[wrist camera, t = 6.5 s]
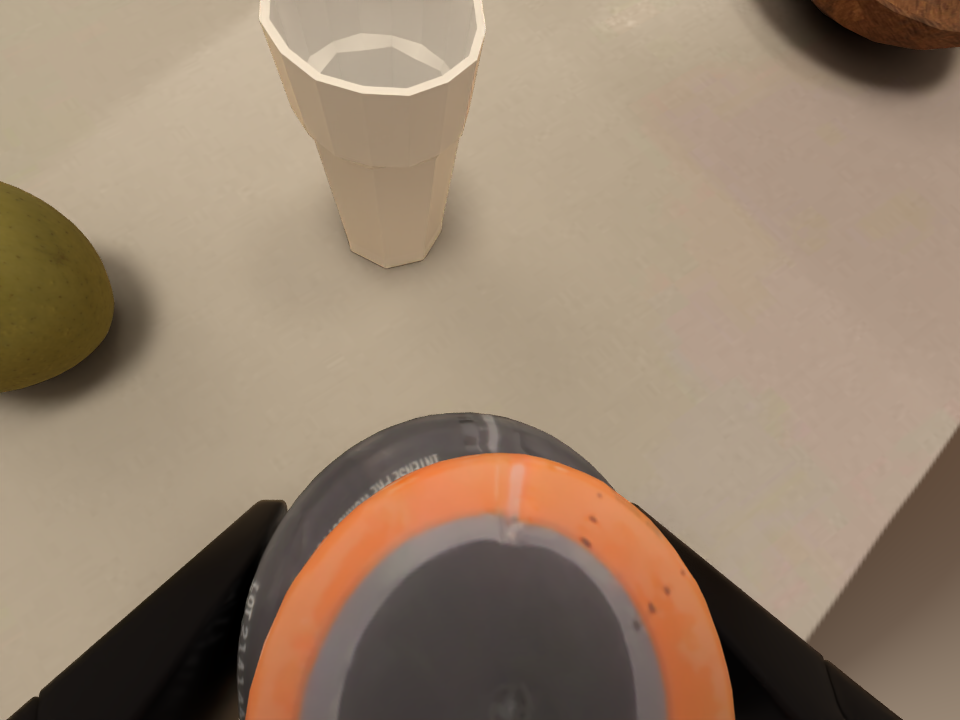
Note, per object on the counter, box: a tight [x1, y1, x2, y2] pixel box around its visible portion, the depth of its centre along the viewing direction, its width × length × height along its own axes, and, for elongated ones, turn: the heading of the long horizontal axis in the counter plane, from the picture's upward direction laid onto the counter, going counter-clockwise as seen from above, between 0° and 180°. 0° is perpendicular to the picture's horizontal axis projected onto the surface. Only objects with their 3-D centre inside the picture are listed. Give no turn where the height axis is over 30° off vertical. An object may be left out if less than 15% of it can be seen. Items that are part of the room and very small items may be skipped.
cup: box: [259, 0, 486, 269], centre depth 18 cm, size 7×7×11 cm
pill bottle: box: [237, 413, 735, 720], centre depth 9 cm, size 6×6×11 cm
